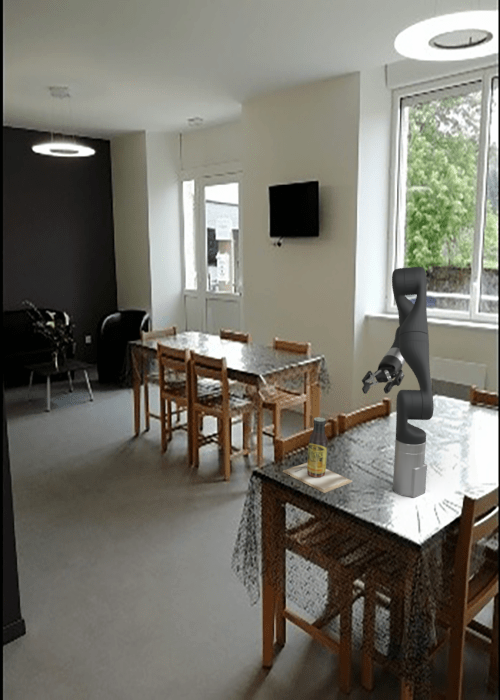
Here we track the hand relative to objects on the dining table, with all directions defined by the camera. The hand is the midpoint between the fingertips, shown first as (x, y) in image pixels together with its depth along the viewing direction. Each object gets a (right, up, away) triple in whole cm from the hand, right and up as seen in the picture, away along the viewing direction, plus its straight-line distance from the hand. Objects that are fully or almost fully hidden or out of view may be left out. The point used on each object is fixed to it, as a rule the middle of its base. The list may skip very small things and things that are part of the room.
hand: (374, 391), depth 192 cm
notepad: (-20, -29, -3) cm, 35 cm away
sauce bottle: (-20, -28, -3) cm, 35 cm away
